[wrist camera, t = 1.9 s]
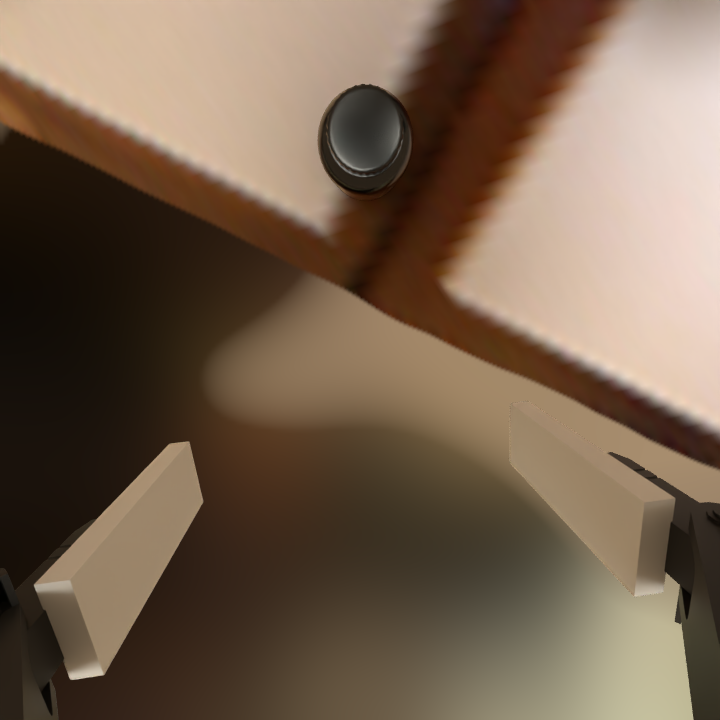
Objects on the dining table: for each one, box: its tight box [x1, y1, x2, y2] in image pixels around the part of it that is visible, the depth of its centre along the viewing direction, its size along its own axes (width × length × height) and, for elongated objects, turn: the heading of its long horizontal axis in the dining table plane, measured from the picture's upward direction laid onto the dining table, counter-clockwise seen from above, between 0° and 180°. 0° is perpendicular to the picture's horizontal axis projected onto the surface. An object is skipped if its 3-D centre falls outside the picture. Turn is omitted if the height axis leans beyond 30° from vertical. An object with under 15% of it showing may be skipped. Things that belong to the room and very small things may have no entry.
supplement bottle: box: [318, 84, 413, 201], centre depth 27 cm, size 7×7×12 cm
